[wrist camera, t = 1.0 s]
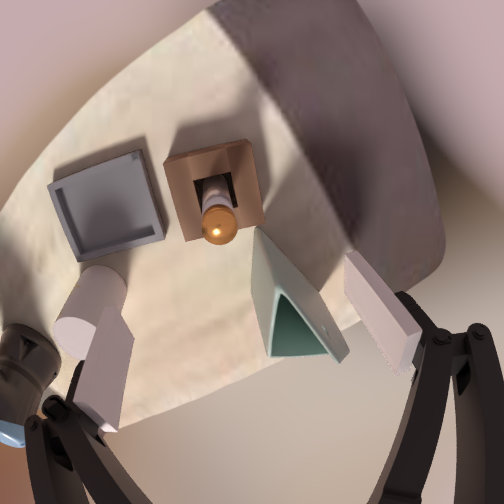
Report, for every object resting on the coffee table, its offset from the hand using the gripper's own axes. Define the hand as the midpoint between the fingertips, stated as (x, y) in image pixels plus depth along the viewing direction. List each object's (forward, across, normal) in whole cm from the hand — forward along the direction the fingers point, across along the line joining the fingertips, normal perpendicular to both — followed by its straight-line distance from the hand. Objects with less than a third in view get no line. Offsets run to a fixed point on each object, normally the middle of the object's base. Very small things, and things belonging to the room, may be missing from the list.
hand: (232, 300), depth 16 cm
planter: (+24, +5, -16) cm, 29 cm away
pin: (+24, 0, 0) cm, 24 cm away
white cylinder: (+24, -21, -11) cm, 34 cm away
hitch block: (+24, 0, 0) cm, 24 cm away
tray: (+24, -15, +1) cm, 28 cm away
